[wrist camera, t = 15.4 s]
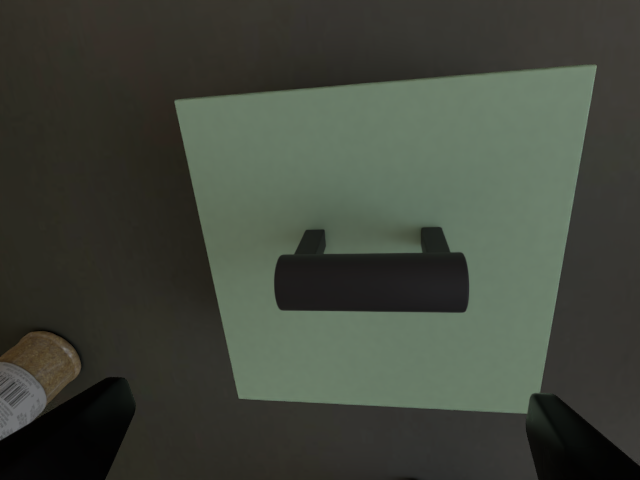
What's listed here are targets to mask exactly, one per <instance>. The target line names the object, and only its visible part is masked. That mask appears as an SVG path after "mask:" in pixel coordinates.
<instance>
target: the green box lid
mask: <svg viewBox="0 0 640 480" xmlns="http://www.w3.org/2000/svg"><path fill="white" fill-rule="evenodd" d="M596 68H597V66H596V65H594V64H591V65H572V66H561V67H549V68H537V69H525V70H514V71H502V72H490V73H478V74H467V75H455V76H443V77H431V78H420V79H408V80H396V81H384V82H373V83H361V84H349V85H337V86H326V87H314V88H302V89H290V90H279V91H267V92H255V93H243V94H232V95H220V96H208V97H197V98H185V99H179V100H175V107H176V111H177V116H178V121H179V125H180V130H181V135H182V139H183V144H184V148H185V153H186V158H187V162H188V167H189V172H190V176H191V181H192V185H193V190H194V195H195V199H196V204H197V208H198V213H199V218H200V222H201V227H202V232H203V236H204V241H205V245H206V250H207V255H208V259H209V264H210V268H211V273H212V278H213V282H214V287H215V292H216V296H217V301H218V305H219V310H220V315H221V319H222V324H223V329H224V333H225V338H226V342H227V347H228V352H229V356H230V361H231V365H232V370H233V375H234V379H235V384H236V389H237V393H238V398H239V399H253V400H273V401H292V402H311V403H331V404H350V405H369V406H388V407H408V408H427V409H446V410H466V411H485V412H504V413H524V414H527V412H528V405H529V399H530V396H531V394H533V393H540V389H541V383H542V377H543V372H544V366H545V360H546V354H547V349H548V343H549V337H550V332H551V326H552V320H553V314H554V309H555V303H556V297H557V291H558V286H559V280H560V274H561V269H562V263H563V257H564V251H565V246H566V240H567V234H568V228H569V223H570V217H571V211H572V206H573V200H574V194H575V188H576V183H577V177H578V171H579V165H580V160H581V154H582V148H583V143H584V137H585V131H586V125H587V120H588V114H589V108H590V102H591V97H592V91H593V85H594V79H595V74H596Z"/></svg>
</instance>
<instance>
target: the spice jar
mask: <svg viewBox="0 0 640 480" xmlns="http://www.w3.org/2000/svg"><path fill="white" fill-rule="evenodd" d="M80 369H81V362H80V359H79V355H78V354H77V352H76V350H75V349H74V348H73V346H72V345H71V344H69V343H68V342H67V341H66V340H65V339H63V338H61V337H59V336H57V335H55V334H53V333H50V332H46V331H35V332H30V333H28V334H27V335H26V336H24V337H23V338H22V339H21V340H20V342H19V343H18V344H17V345H16V346H14V347H13V348H11V349H10V350H9V351H7V352H6V353H5V354H3V355H2V356H1V357H0V440H2V439H3V438H5V437H7V436H9V435H10V434H12V433H14V432H15V431H17V430H19V429H20V428H22V427H24V426H26V425H27V424H29V423H31V422H32V421H33V420H34V419H35V418H36V417H37V416H38V415H39V414H40V413H41V412H42V411H43V409H44V408H45V406H46V405H47V404H48V403H49V402H50V401H51V400H52V399H53V398H54V397H55V396H56V395H57V394H58V393H59V392H60V391H61V390H62V389H63V388H64V387H65V386H66V385H67V384H68V383H69V382H70V381H72V380H74V379H75V378H76V377H77V376H78V374H79V372H80Z"/></svg>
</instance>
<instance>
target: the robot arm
mask: <svg viewBox="0 0 640 480" xmlns="http://www.w3.org/2000/svg"><path fill="white" fill-rule="evenodd" d="M135 408H136V403H135V400H134V397H133V394H132V392H131V389H130V386H129V384H128V381H127V380H126V379H125V378H122V377H108V378H105V379H104V380H102V381H100V382H98V383H97V384H95V385H93V386H92V387H90V388H88V389H87V390H85V391H83V392H82V393H80V394H78V395H76V396H75V397H73V398H71V399H70V400H68V401H66V402H65V403H63V404H61V405H59V406H58V407H56V408H54V409H53V410H51V411H49V412H48V413H46V414H44V415H43V416H41V417H39V418H37V419H36V420H34V421H32V422H31V423H29V424H27V425H26V426H24V427H22V428H20V429H19V430H17V431H15V432H14V433H12V434H10V435H9V436H7V437H5V438H3V439H2V440H0V480H105V479H106V476H107V474H108V472H109V470H110V468H111V466H112V463H113V461H114V459H115V457H116V454H117V452H118V450H119V448H120V445H121V443H122V441H123V438H124V436H125V434H126V432H127V429H128V427H129V425H130V423H131V420H132V418H133V416H134V413H135ZM526 432H527V437H528V441H529V445H530V449H531V452H532V456H533V460H534V464H535V468H536V472H537V476H538V479H539V480H640V466H639V465H638V464H637V463H635V462H634V461H633V460H632V459H631V458H629V457H628V456H627V455H626V454H625V453H624V452H622V451H621V450H620V449H619V448H618V447H616V446H615V445H614V444H613V443H612V442H611V441H609V440H608V439H607V438H606V437H605V436H603V435H602V434H601V433H600V432H599V431H598V430H596V429H595V428H594V427H593V426H592V425H590V424H589V423H588V422H587V421H586V420H585V419H583V418H582V417H581V416H580V415H579V414H577V413H576V412H575V411H574V410H573V409H572V408H570V407H569V406H568V405H567V404H566V403H564V402H563V401H562V400H561V399H560V398H559V397H557V396H556V395H554V394H549V393H533V394H531V396H530V399H529V405H528V412H527V418H526Z"/></svg>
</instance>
